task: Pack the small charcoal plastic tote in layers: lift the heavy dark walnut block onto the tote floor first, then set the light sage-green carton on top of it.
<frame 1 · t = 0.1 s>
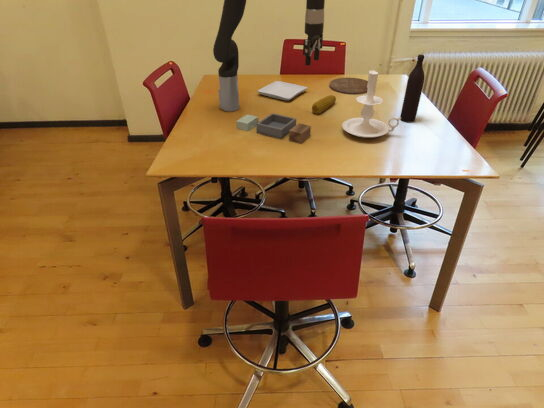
hand: (312, 62, 161), 29 cm above the table, tool pointing down, fingers open, 8 cm apart
sage carton: (247, 126, 179), on the table
trivet: (350, 87, 223), on the table
candlestick: (369, 133, 172), on the table
salad plate: (282, 94, 214), on the table
food: (323, 109, 196), on the table
walnut block: (299, 138, 168), on the table
wine bottle: (407, 120, 184), on the table
tote: (276, 130, 175), on the table
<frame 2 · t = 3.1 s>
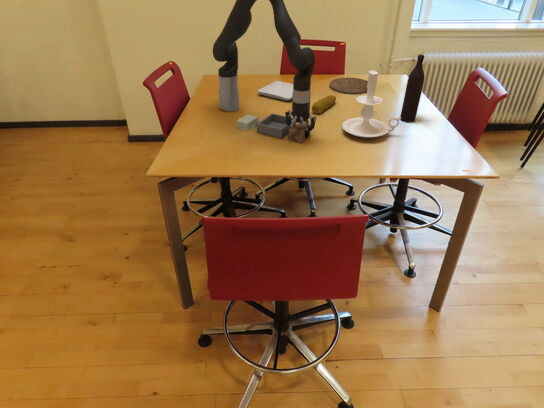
hand: (299, 136, 168), 1 cm above the table, tool pointing down, fingers closed on walnut block, 6 cm apart
walnut block: (299, 138, 168), on the table, touching gripper
everything else where it was.
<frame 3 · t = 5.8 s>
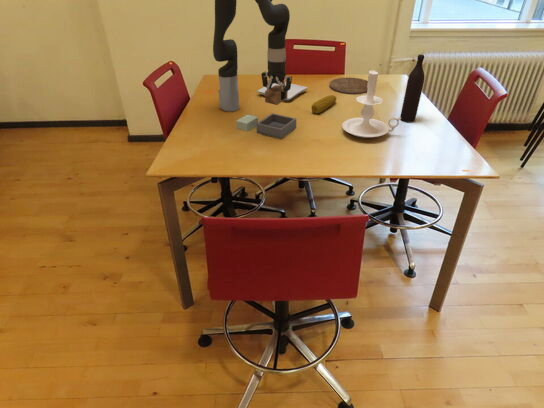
hand: (276, 98, 166), 15 cm above the table, tool pointing down, fingers closed on walnut block, 6 cm apart
walnut block: (276, 100, 167), point 14 cm above the table, touching gripper
everything else where it was.
when the fingers open (3 cm above the table, at t = 8.5 s): walnut block drops 1 cm, resting on tote.
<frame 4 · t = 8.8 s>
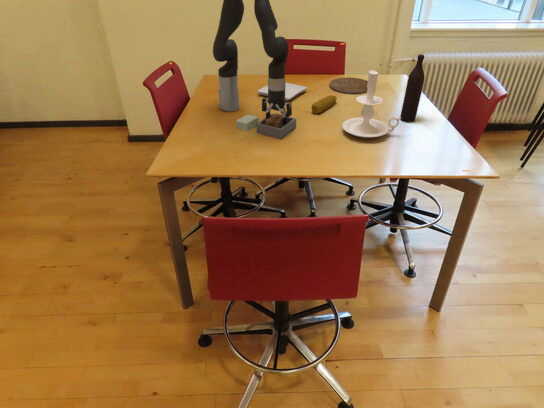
hand: (276, 122, 173), 4 cm above the table, tool pointing down, fingers open, 8 cm apart
walnut block: (276, 128, 175), point 1 cm above the table, touching tote
everything else where it was.
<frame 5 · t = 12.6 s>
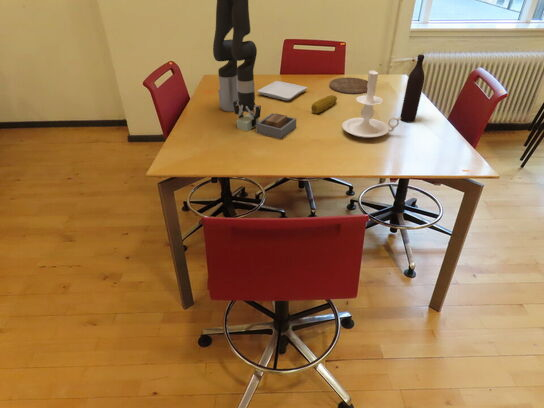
hand: (247, 124, 178), 1 cm above the table, tool pointing down, fingers closed on sage carton, 6 cm apart
sage carton: (247, 126, 179), on the table, touching gripper
everything else where it was.
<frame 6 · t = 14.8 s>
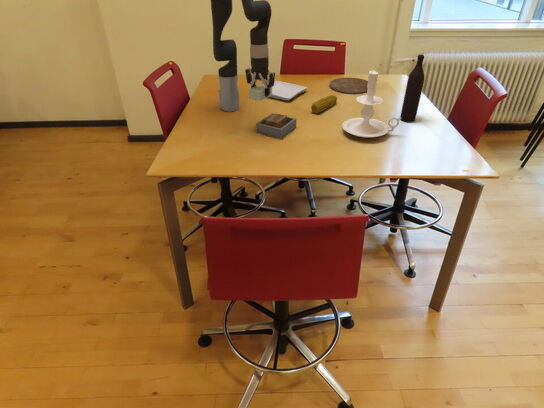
hand: (260, 94, 167), 16 cm above the table, tool pointing down, fingers closed on sage carton, 6 cm apart
sage carton: (260, 96, 167), point 15 cm above the table, touching gripper
everything else where it was.
when the fingers open (8 cm above the table, at t = 17.2 s): sage carton drops 1 cm, resting on walnut block.
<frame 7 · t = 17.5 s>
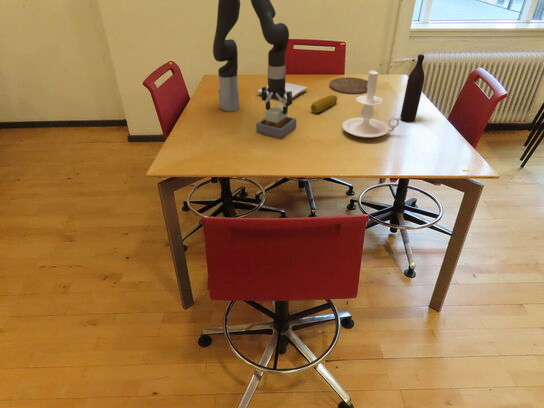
hand: (276, 112, 170), 9 cm above the table, tool pointing down, fingers open, 8 cm apart
sage carton: (276, 118, 171), point 6 cm above the table, touching walnut block
walnut block: (276, 128, 175), point 1 cm above the table, touching sage carton, tote
everything else where it was.
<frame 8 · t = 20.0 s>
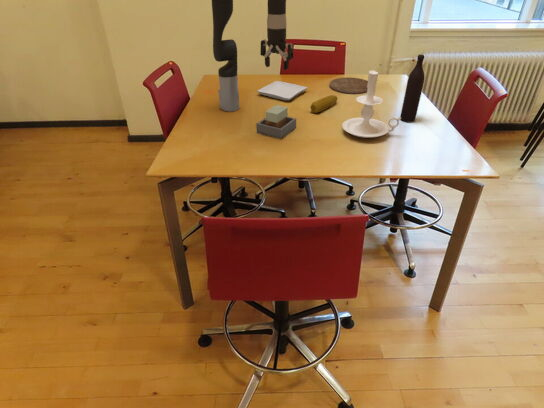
hand: (276, 68, 159), 28 cm above the table, tool pointing down, fingers open, 8 cm apart
nothing on the table moved.
at the end: walnut block 0.1 cm off-centre on the tote, point 1.0 cm above the tote's base; sage carton 0.0 cm off-centre on the tote, point 6.0 cm above the tote's base; sage carton tilted 0° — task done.
